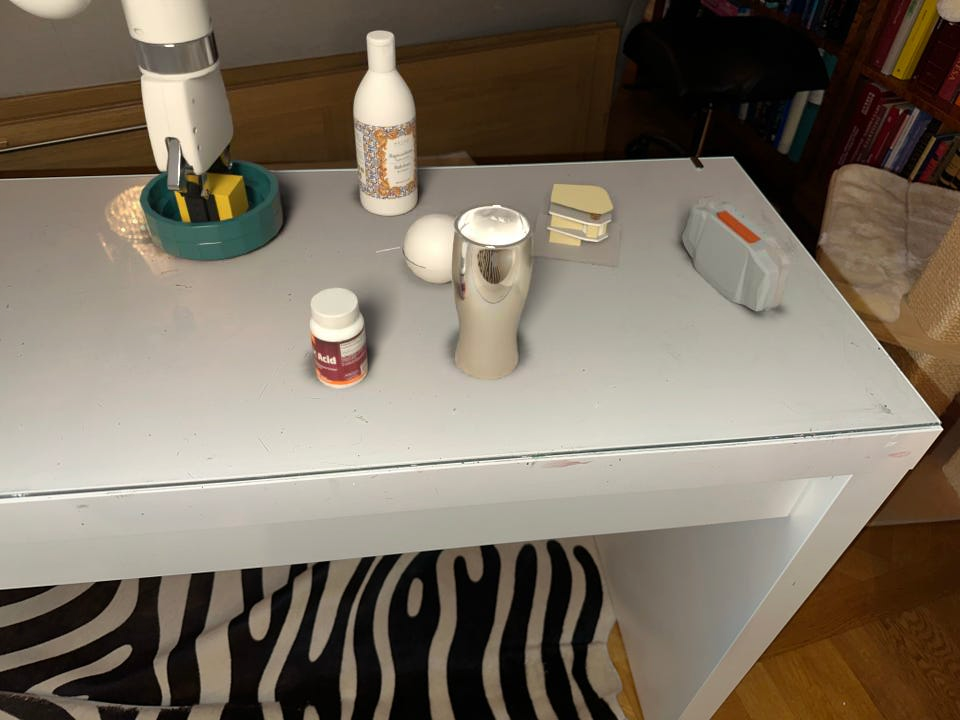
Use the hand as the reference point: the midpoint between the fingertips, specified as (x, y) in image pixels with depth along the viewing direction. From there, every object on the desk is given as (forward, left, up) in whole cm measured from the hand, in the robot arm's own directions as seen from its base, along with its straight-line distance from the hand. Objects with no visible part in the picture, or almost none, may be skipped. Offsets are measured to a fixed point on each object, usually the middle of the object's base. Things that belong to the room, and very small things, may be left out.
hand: (215, 212), depth 85 cm
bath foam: (+18, +9, -2) cm, 20 cm away
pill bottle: (+20, -21, -2) cm, 29 cm away
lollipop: (+25, -5, -2) cm, 26 cm away
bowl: (0, 0, -2) cm, 2 cm away
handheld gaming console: (+57, -1, -2) cm, 57 cm away
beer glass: (+33, -17, -2) cm, 37 cm away
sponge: (0, 0, 0) cm, 0 cm away
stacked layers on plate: (+41, +5, -2) cm, 41 cm away
